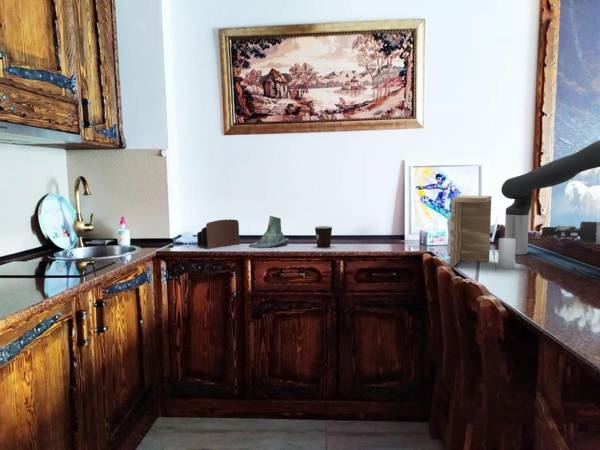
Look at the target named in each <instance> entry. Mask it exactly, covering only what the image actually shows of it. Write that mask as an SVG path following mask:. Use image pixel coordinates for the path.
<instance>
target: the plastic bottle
mask: <svg viewBox="0 0 600 450" xmlns="http://www.w3.org/2000/svg"><path fill="white" fill-rule="evenodd" d="M446 222H447V223H446V224H447V231H448V232H447V233H448V234H447V235H448V237H447V245H446V253H447V254H448V255H449V256H450V244H451V215H450V216H449V217H448V219H447V221H446Z"/></svg>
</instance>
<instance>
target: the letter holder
mask: <svg viewBox="0 0 600 450" xmlns="http://www.w3.org/2000/svg"><path fill="white" fill-rule="evenodd" d="M239 224H240V223H239V220H238V219H219V220H214V221H210V222H207V223H206V225H205V227H202V228H201V230H200V231H199V232H197V233H196V236H197V243H196V244H197V248H201V249H205V250H210V249H218V248H224V247H231V246H239V245H240V225H239Z"/></svg>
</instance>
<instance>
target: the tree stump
mask: <svg viewBox="0 0 600 450" xmlns="http://www.w3.org/2000/svg"><path fill="white" fill-rule="evenodd" d="M281 221H282V219H281V218H280V217H277V216H273V215H269V221H268V225H267V228H266V231H265V232H264V233H263V234H262V236H261V237H260V238H259V240H257V241H256V242H253V243H252V242H251V243H249V244H248V246H249V247H250V248H253V249H272V248H273V247H274V248H278V246H279V247H281V245H282V246H284V245H285V244H287V242H288V241H289V238H286V237H285V236H284V234H283V232H282V222H281ZM274 248H273V249H274Z"/></svg>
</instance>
